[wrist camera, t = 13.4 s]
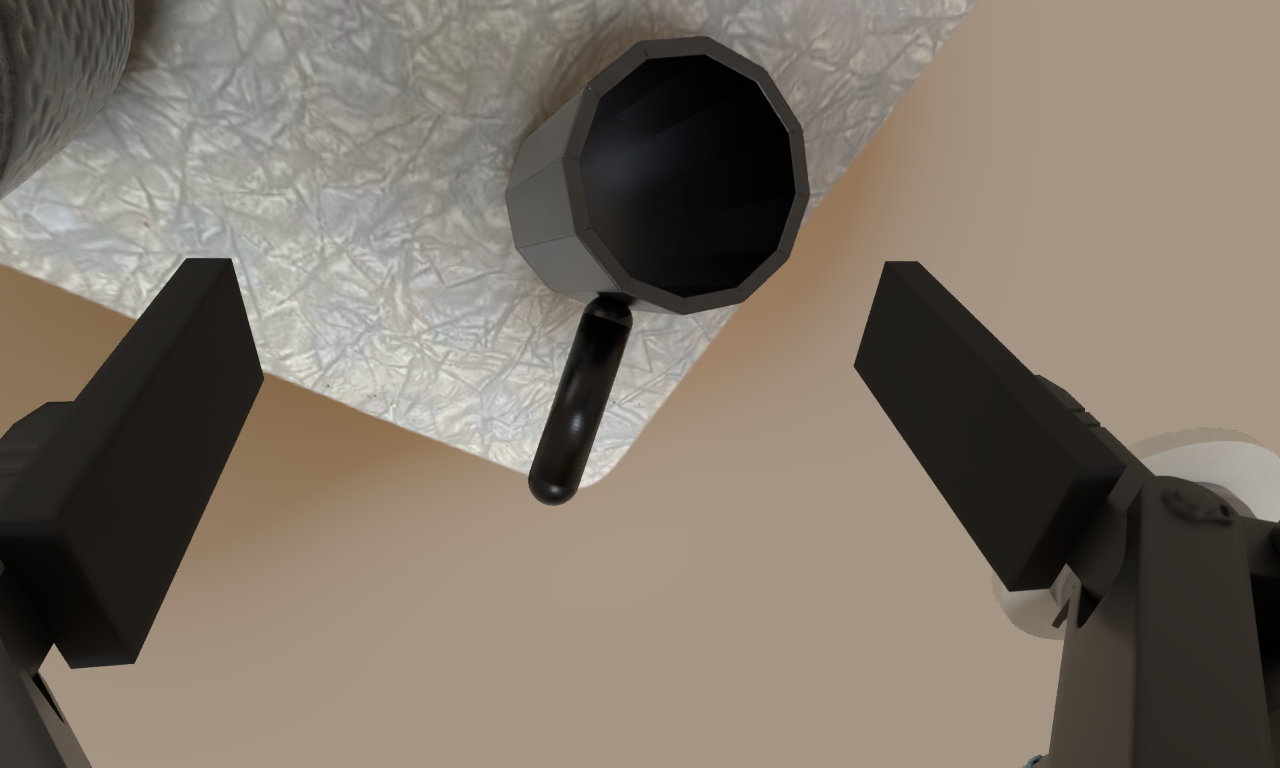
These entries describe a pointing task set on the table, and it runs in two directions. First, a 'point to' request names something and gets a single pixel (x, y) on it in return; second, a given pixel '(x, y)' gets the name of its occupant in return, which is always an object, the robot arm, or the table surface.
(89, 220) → the table surface
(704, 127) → the saucepan
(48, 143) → the planter
